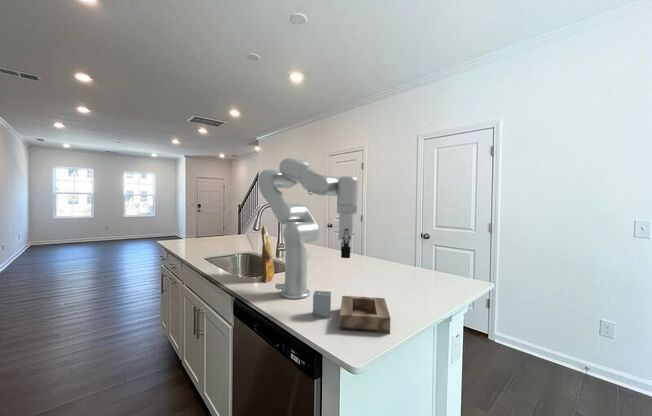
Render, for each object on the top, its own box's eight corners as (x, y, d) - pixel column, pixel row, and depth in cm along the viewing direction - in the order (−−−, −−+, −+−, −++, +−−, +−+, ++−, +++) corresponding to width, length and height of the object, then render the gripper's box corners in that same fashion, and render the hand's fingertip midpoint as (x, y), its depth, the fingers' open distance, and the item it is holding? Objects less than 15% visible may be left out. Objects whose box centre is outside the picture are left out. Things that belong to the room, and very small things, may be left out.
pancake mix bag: (256, 283, 137) (257, 226, 137) (263, 273, 157) (264, 223, 156) (270, 283, 138) (271, 226, 137) (275, 273, 157) (276, 223, 156)
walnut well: (339, 330, 90) (339, 314, 90) (341, 308, 108) (342, 295, 108) (390, 333, 89) (390, 318, 89) (384, 311, 107) (384, 298, 106)
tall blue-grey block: (312, 317, 100) (313, 294, 100) (314, 312, 105) (315, 290, 104) (329, 318, 99) (330, 295, 99) (330, 313, 104) (331, 291, 104)
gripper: (337, 208, 114) (335, 250, 114) (336, 210, 96) (334, 259, 97) (355, 209, 113) (354, 251, 114) (358, 211, 96) (356, 260, 97)
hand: (345, 255), depth 106 cm, fingers open, 9 cm apart
